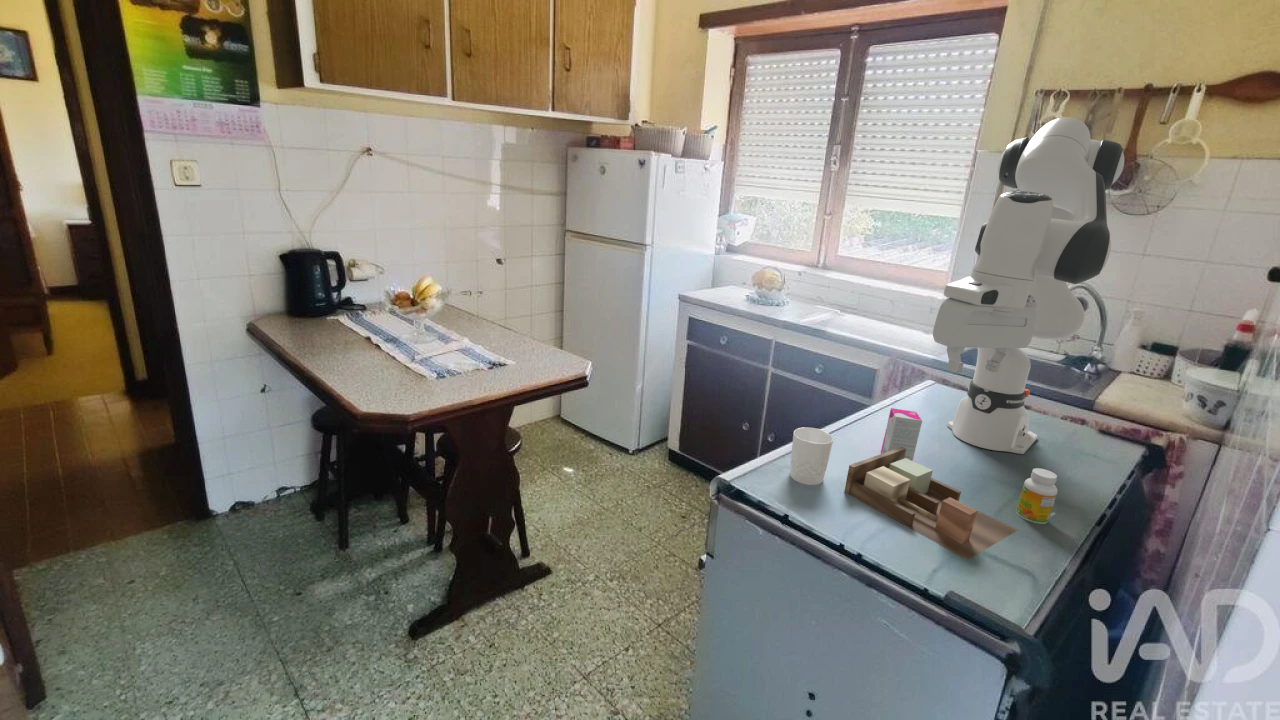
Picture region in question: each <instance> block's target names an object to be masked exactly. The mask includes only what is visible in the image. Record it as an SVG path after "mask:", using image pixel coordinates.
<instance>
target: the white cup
mask: <svg viewBox="0 0 1280 720" xmlns="http://www.w3.org/2000/svg"><path fill="white" fill-rule="evenodd" d="M833 443H834V437H833V436H832V434H831V433H829V432H827V431H825V430H823V429H819V428H815V427H808V426H807V427H798V428H796V429H795V430H793V435H792V444H791V454H790V455H791V456H790V471H789V472H790V473H789V475H790V477H791V478H792V479H793V480H794V481H796V482H797V483H800V484H802V485H808V486H809V485H810V486H817V485H821V484H822V483H823V482H824V479H825V474H826V472H827V471H826V470H827V468H828V464H829V461H830V456H831V451H832V447H833Z"/></svg>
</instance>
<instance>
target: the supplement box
mask: <svg viewBox="0 0 1280 720" xmlns="http://www.w3.org/2000/svg"><path fill="white" fill-rule="evenodd" d="M922 424H923V420H922V418H921V416H920V415H919V414H918V413H917V411H914V410H907V409H901V408H900V409H898V408H894V407H893V408H892V407H891V408H890V411H889V415H888V420H887V425H886V428H885V433H884V437H883V442H882V446H881V449H880V454H883V453H886V452H888V451H891V450H894V449H897V448H900V447H904V448H906V452H905V456H904V458H907V459H909V460H911V461H914V458H915V453H916V449H917V444H918V440H919V436H920V432H921V428H922Z"/></svg>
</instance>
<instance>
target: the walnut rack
mask: <svg viewBox="0 0 1280 720" xmlns="http://www.w3.org/2000/svg"><path fill="white" fill-rule="evenodd" d="M905 452H906V448H904V447H900V448H897V449H894V450H891V451H888V452H886V453H883V454H881V453H880V454H877V455H875V456H872V457H869V458H865V459H863V460H860V461H857V462H854V463H852V464H849V465H848V471H847V475H846V480H845V486H844V490H843V491H844V493H845V494H847V495H849V496H850V497H852V498H855V499H856V500H858V501H860V502H861V503H863V504H865V505H867V506H868V507H871V509H874V510H875V511H878V512H880V513H882V514H884V515H885V516H887V517H888V518H890V519H892V520H893V521H896V522H898V523H899V524H901V525H903V526H905V527H906V528H908V529H911V530H913V531H914V532H916V533H917V534H919V535H921V536H922V537H923V536H924V537H925V538H927V539H928V540H930V541H932V542H933V543H936V544H938V545H939V546H941V547H943V548H945V549H947V550H948V551H950V552H952V553H954V554H956V555H958V556H959V557H961V558H963V559H964V560H966V561H968V560H970V559H972V558H973V557H975V556H977V555H979V554H980V553H982V552H983V551H985V550H987V549H988V548H990V547H992V546H994V545H996V544H997V543H999V542H1000V541H1002V540H1004V539H1006V538H1008V537H1010V535H1012V534H1013V533H1015V532H1017V531H1018V529H1016V528H1015V527H1013V526H1011V525H1008V524H1006V523H1004V522H1003V521H1000V520H998V519H996V518H994V517H992V516H989V515H987V514H986V513H983V512H981V511H979V510H977V515H976V518H975V521H974V525H973V528H972V532H971V535H970V539H969V540H968V541H966V542H965V543H963V544H961V543H959V542H957V541H955V540H953V539H951V538H950V537H948V536H946V535H944V534H942V533H941V532H939V531H937V530H935V527H936V523H937V522H935V521H933V520H931V519H929V518H927V517H925V516H924V515H922V514H920V513H918V512H916V511H914V510H912V509H911V508H909V507H907V506H905V505H903V504H900V505H899V504H897V503H895V502H893V501H892V500H890V499H888V498H886V497H884V496H882V495H880V494H878V493H876V492H874V491H873V490H871V489H869V488H867V487H865V486H864V482H865V477H866V472H869V471H872V470H874V469H877V468H880V467H883V466H884V467H886V468H888V469H889V466H890V464H891V463H894V462H896V461H899V460H902V459H904V456H905ZM961 493H962V490H958V489H957V488H955V487H952V486H950V485H949V484H946V483H943V482H941V481H939V480H937V479H935V478H933V477H931V480H930V484H929V488H928V492H927V493H924V494H922V493H920V492H918V491H916V490H914V489H912V488H910V487H909V488H908V492H907V496H906V500H907V501H909V502H911V503H912V504H914V505H916V506H918V507H920V508H922V509H924V510H926V511H927V512H929V513H931V514H933V515H935V516H937V517H938V516H939V512H940V508H941V505H942V501H943V500H945V499H947V498H949V497H951V498H953V499H955V500H957V501H959V502H960V497H961Z"/></svg>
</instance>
